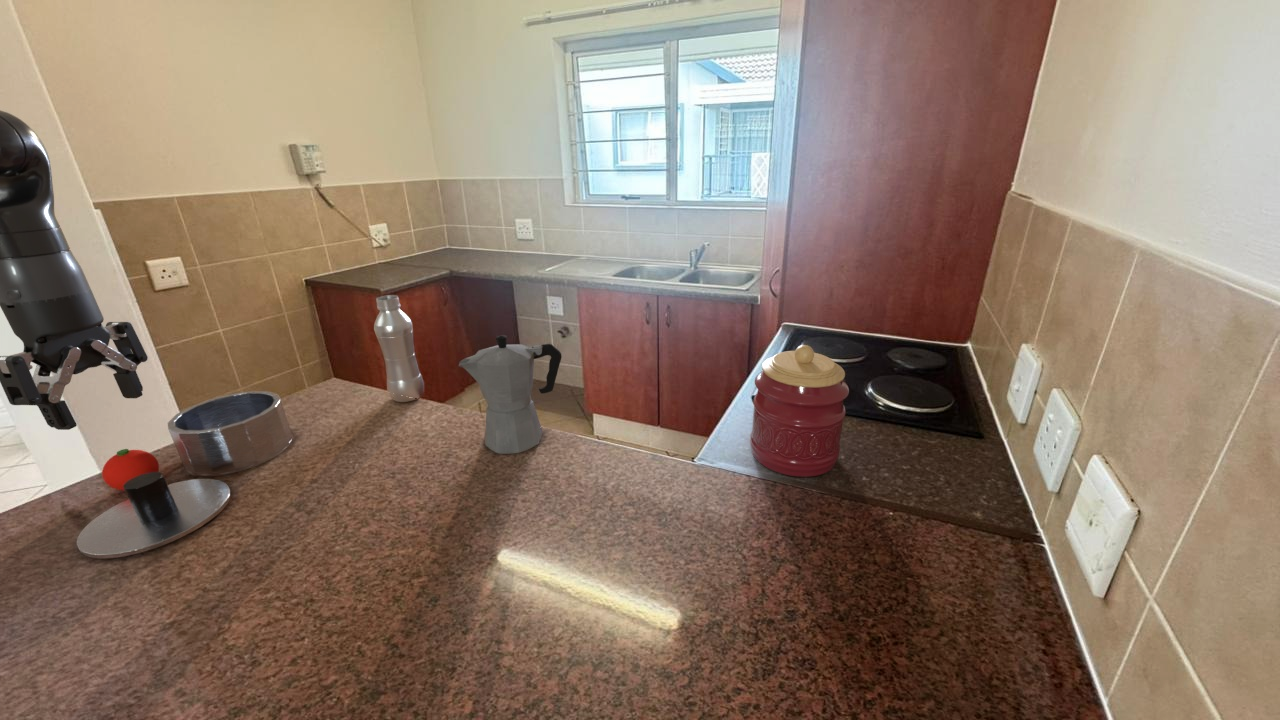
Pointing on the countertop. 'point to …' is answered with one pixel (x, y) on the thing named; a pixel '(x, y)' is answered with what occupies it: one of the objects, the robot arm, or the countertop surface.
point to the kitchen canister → (798, 413)
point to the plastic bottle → (398, 350)
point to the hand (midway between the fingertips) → (102, 411)
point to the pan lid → (152, 515)
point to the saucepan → (230, 433)
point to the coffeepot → (511, 392)
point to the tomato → (128, 467)
